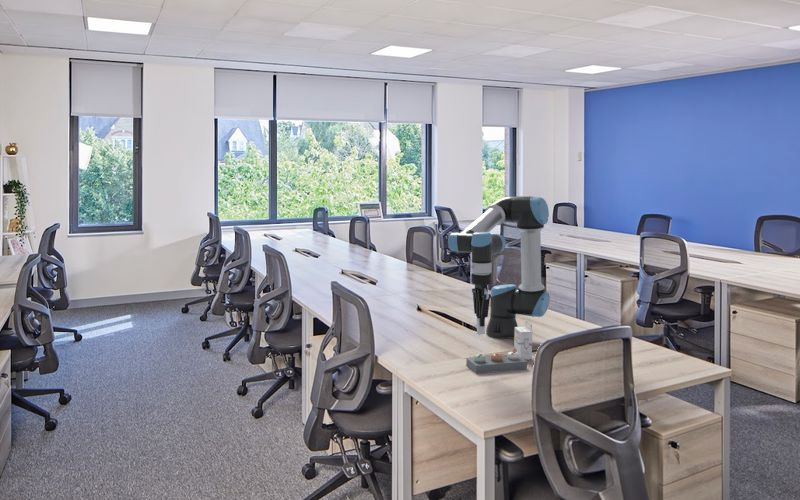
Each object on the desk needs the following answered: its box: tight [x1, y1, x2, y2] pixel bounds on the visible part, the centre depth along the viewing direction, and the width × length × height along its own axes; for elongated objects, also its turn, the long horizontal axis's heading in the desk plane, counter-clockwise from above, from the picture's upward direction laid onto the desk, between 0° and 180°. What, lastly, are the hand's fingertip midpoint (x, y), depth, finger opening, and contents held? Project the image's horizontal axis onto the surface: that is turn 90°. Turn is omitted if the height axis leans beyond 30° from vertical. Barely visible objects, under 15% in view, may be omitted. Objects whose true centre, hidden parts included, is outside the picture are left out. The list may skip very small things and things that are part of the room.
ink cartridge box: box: [513, 319, 533, 361], centre depth 259 cm, size 9×5×15 cm, turn 9°
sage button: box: [473, 353, 487, 363], centre depth 243 cm, size 4×4×2 cm
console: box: [465, 354, 528, 374], centre depth 245 cm, size 21×10×3 cm, turn 105°
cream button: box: [507, 351, 519, 360], centre depth 247 cm, size 4×4×2 cm
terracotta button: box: [490, 352, 503, 361], centre depth 245 cm, size 4×4×2 cm
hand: (480, 333), depth 243 cm, fingers closed
